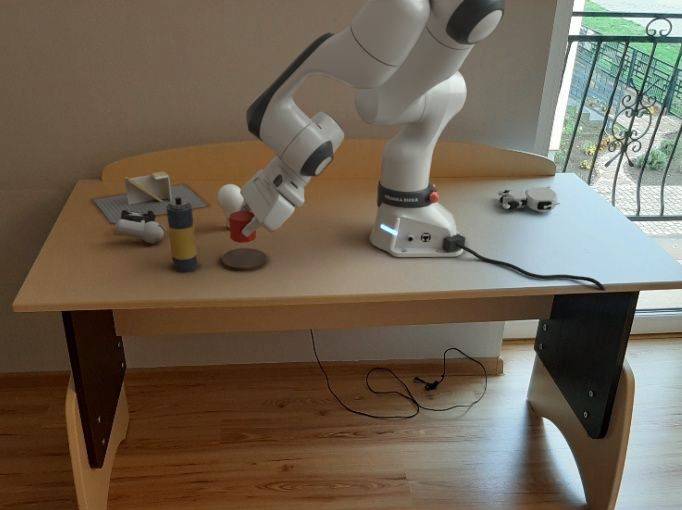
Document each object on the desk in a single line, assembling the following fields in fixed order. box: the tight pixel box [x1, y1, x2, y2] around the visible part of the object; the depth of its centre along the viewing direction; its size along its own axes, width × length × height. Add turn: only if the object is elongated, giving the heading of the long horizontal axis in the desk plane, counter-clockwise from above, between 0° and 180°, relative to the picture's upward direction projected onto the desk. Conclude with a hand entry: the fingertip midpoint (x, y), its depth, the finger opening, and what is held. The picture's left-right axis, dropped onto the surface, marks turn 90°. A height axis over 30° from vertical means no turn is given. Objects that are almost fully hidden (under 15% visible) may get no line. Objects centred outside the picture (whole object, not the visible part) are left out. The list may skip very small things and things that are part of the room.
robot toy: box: [497, 185, 561, 213], centre depth 184 cm, size 12×4×15 cm
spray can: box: [166, 197, 198, 273], centre depth 147 cm, size 5×5×16 cm
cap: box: [229, 211, 257, 244], centre depth 149 cm, size 6×6×5 cm
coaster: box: [221, 247, 268, 272], centre depth 154 cm, size 10×10×1 cm
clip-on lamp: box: [115, 210, 169, 245], centre depth 162 cm, size 12×6×18 cm
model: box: [124, 170, 173, 205], centre depth 179 cm, size 3×11×8 cm, turn 121°
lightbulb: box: [216, 183, 245, 229], centre depth 166 cm, size 6×6×11 cm
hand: (240, 227), depth 149 cm, fingers closed on cap, 5 cm apart
